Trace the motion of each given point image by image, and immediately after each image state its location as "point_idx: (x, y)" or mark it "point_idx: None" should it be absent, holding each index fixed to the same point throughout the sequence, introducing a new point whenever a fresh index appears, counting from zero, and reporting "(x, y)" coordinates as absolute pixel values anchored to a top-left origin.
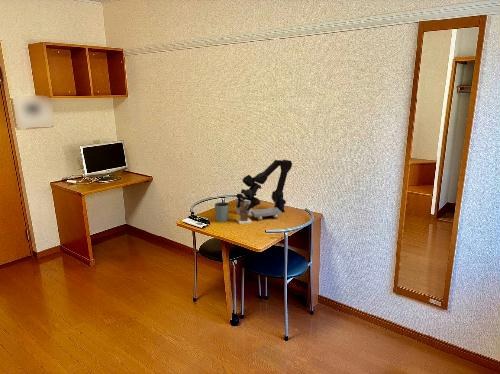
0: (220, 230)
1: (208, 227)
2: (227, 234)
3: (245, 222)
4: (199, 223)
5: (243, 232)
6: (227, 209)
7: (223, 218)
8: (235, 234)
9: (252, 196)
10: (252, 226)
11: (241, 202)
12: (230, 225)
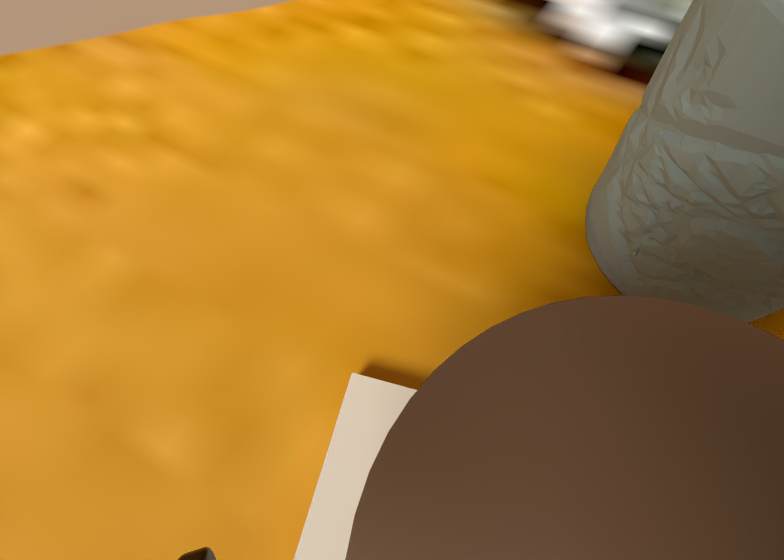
0: (308, 72)
1: (484, 21)
2: (134, 77)
3: (314, 499)
4: (662, 3)
5: (8, 252)
6: (738, 144)
7: (607, 179)
8: (50, 141)
9: None
10: (82, 537)
11: (697, 405)
12: (394, 236)
